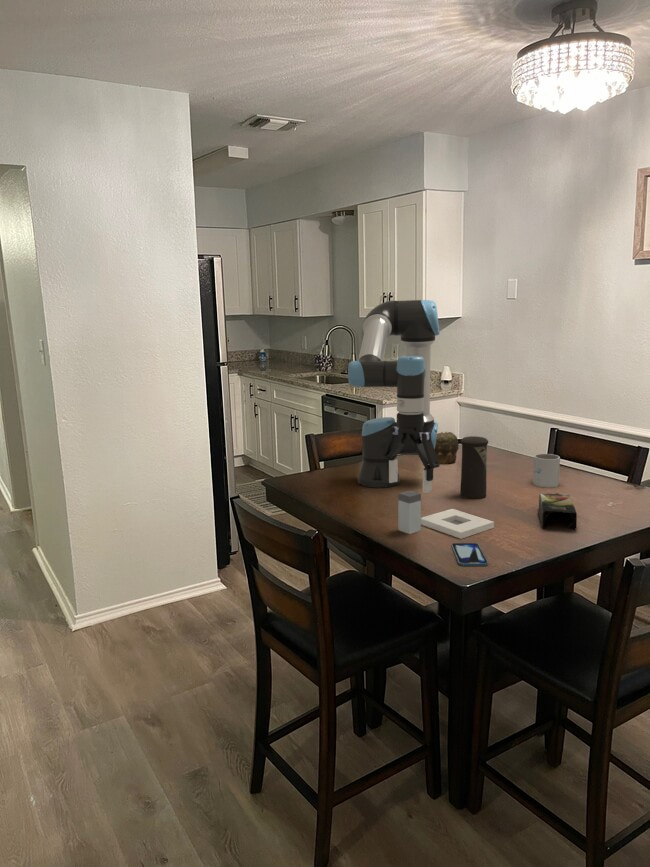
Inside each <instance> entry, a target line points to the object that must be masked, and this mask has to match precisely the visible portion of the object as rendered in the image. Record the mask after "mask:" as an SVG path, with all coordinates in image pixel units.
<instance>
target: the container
mask: <svg viewBox="0 0 650 867" xmlns="http://www.w3.org/2000/svg"><path fill="white" fill-rule="evenodd" d="M460 444H461V445H462V446H461V471H460V472H461V474H460V489H459V490H460V491H459V492H460V493H459V495H460V496H461V497H463V498H466V499H479V500H480V499H484V498H486V497H487V465H488V464H487V459H488V458H487V456H488V455H487V453H488V444H489V439H488V438H486V437H483V436H476V435H473V436H472V435H471V436H464V437H463V438H461V439H460Z"/></svg>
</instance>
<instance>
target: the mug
mask: <svg viewBox="0 0 650 867" xmlns="http://www.w3.org/2000/svg"><path fill="white" fill-rule="evenodd" d="M560 463H561V457H560V456H559V455H557V454H553V453H538V454H535V455H533V474H532V476H533V477H532V484H533V485H534V486H536V487H539V488H540V487H541V488H557V487H558V486H559V484H560V483H559V482H560V466H561V464H560Z"/></svg>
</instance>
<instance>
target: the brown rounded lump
mask: <svg viewBox="0 0 650 867" xmlns="http://www.w3.org/2000/svg"><path fill="white" fill-rule="evenodd" d="M458 451H459V439H458V437H457V435H455V433H453V432H451V431H449V432H448V431H445V432H443V431H441V432H437V438H436V444H435V453H436V456H437V459H438V462H439V465H451V464H454V463H455V462H456V461H457V454H458Z"/></svg>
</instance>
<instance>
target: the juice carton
mask: <svg viewBox="0 0 650 867" xmlns="http://www.w3.org/2000/svg"><path fill="white" fill-rule="evenodd" d="M573 502H574V501H573V499H572V497H571V495H570V494H566V493H561V494H560V493H559V492H553V493H549V492H548V493H541V492H540V493H539V499H538V510H537V512H538V516H539V520H540V525H541V528H542V529H543V530H547V528H545V524H546V521H547V520H546V519H547V517H548V516H549V515H550V514H553V513H563V514H569V516H570V515H571V516H570V518H572V519H571V523H570V524H569V525H568V526H567V528H568V529H570V530H576V529H577V527H578V526H577V524H578V523H577V521H578V516H577V513H578V512H577V510H576V507H575V505H574V503H573Z"/></svg>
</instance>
